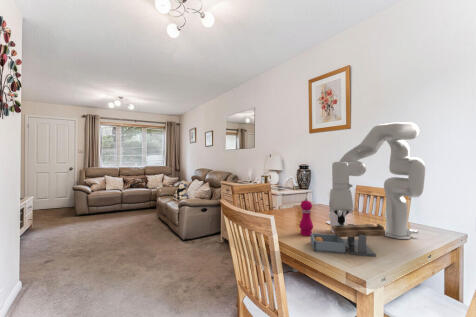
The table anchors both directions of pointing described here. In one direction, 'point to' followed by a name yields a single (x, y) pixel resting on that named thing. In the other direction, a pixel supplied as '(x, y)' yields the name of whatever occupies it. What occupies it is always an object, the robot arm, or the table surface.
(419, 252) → the table surface
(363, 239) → the stand
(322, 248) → the bin
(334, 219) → the cup
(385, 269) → the table surface
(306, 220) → the pepper mill
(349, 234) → the tray
